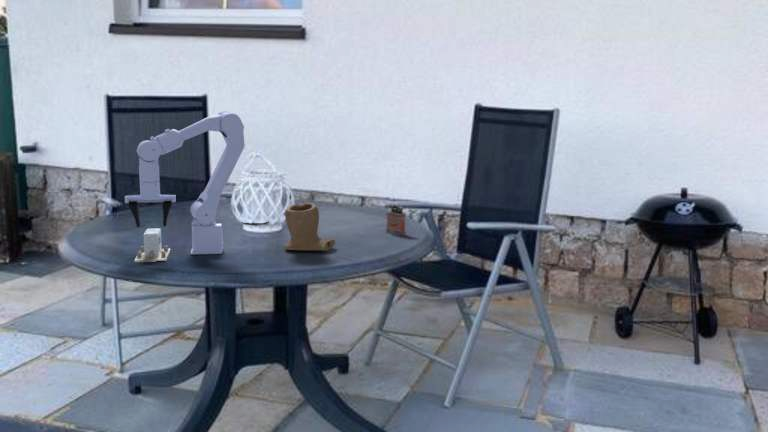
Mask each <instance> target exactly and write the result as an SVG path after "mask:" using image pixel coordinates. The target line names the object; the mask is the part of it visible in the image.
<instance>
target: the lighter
mask: <svg viewBox="0 0 768 432" xmlns="http://www.w3.org/2000/svg"><path fill="white" fill-rule="evenodd" d="M388 209H389V210H386V230H385V232H386V233H387V234H391V235H394V236H395V235H396V236H406V215H407V213H406V212H403V211H404V207H403V206H400V204H393V203H390V204H389V203H388ZM390 209H391V210H390Z"/></svg>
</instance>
